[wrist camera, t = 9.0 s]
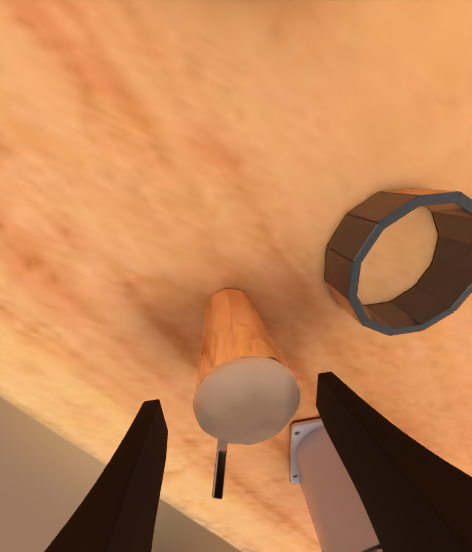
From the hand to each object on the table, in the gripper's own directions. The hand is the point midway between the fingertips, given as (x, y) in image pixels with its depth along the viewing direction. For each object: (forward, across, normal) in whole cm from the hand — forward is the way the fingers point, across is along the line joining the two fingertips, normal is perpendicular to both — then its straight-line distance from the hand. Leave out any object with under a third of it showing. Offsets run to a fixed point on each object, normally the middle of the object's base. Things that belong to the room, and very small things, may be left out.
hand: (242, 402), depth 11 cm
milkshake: (+8, 0, 0) cm, 8 cm away
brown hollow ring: (+8, -12, -3) cm, 15 cm away
